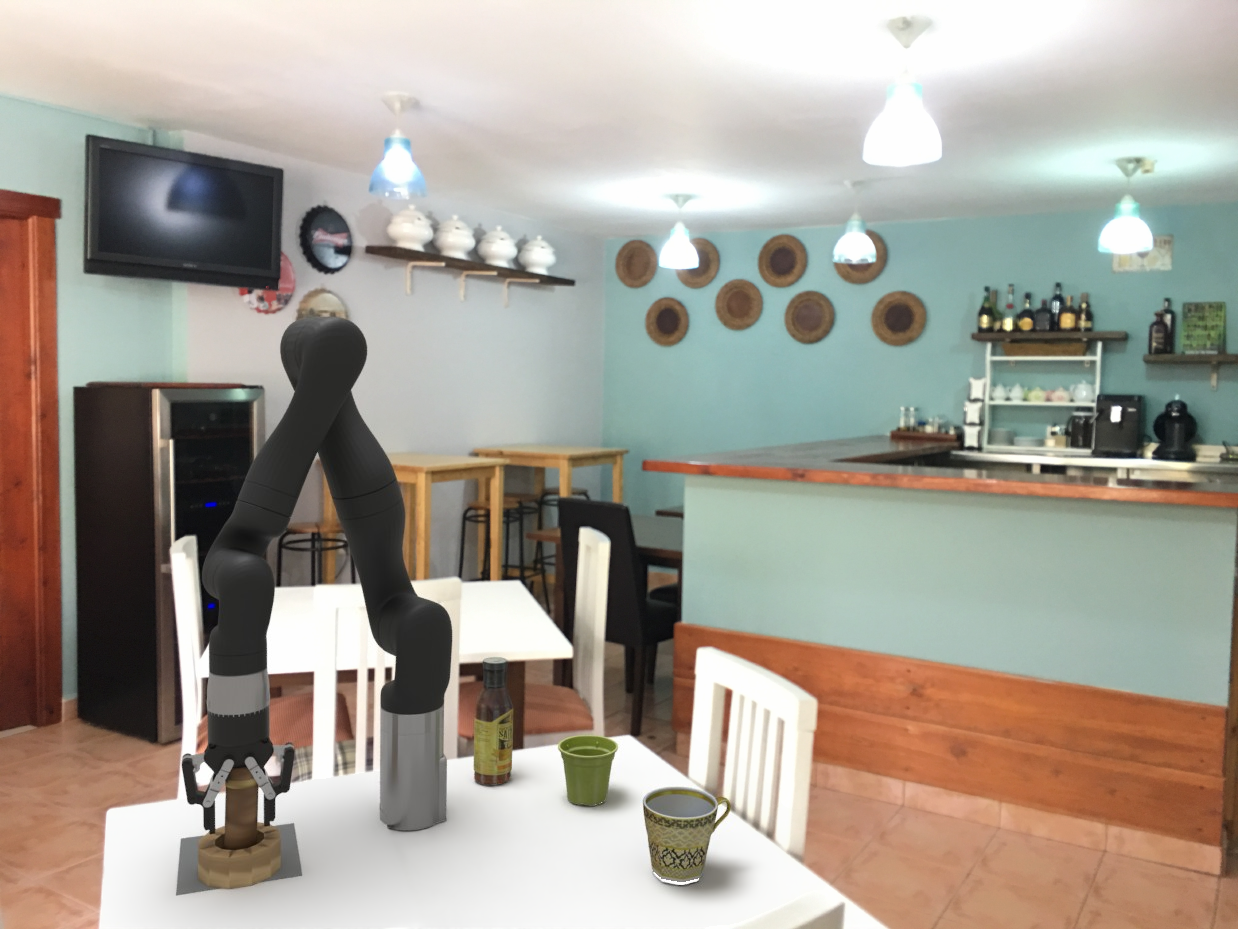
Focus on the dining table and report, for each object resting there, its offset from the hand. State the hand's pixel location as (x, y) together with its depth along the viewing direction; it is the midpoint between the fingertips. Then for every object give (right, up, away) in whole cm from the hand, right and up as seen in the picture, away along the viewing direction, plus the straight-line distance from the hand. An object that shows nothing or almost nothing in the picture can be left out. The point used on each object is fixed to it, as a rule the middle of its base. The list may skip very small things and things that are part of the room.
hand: (239, 827), depth 129 cm
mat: (-1, -6, +4) cm, 7 cm away
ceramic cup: (+59, -8, +4) cm, 59 cm away
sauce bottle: (+29, -4, +33) cm, 44 cm away
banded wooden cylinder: (0, -6, 0) cm, 5 cm away
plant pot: (+45, -5, +26) cm, 52 cm away
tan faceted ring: (0, -6, 0) cm, 6 cm away
